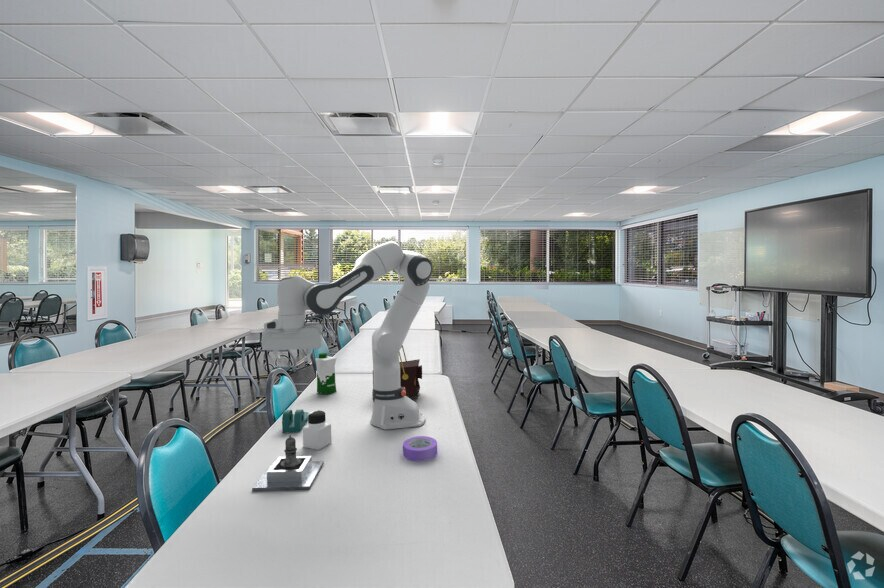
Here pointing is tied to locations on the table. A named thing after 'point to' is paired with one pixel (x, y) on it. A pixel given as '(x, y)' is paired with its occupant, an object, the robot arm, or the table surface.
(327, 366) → the milk carton
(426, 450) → the masking tape
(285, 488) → the plate
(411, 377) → the dark brown boxy piece
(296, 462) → the chess piece
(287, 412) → the bracket
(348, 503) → the table surface
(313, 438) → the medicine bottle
